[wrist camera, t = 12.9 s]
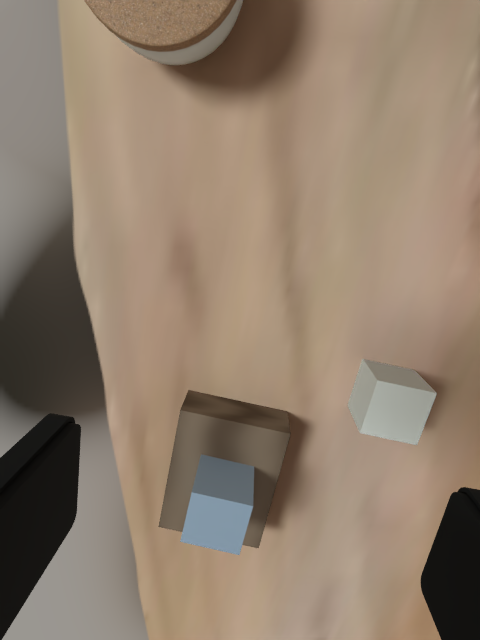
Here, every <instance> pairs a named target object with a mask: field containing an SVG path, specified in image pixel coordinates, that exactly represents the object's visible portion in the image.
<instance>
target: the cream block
mask: <svg viewBox="0 0 480 640" xmlns="http://www.w3.org/2000/svg"><path fill="white" fill-rule="evenodd" d="M436 395H437V393H436V392H435V391H434V390H433V389H432V388H431V386H430V385H429V384H428V383H427V382H426V381H425V380H424V379H423V378H422V377H421V376H420V375H419V374H418V373H417V372H416V371H415V370H413V369H408V368H404V367H399V366H394V365H390V364H385V363H381V362H376V361H371V360H367V359H362V362H361V365H360V368H359V371H358V374H357V377H356V380H355V384H354V387H353V390H352V393H351V396H350V399H349V402H348V408H349V410H350V412H351V414H352V416H353V419H354V421H355V423H356V425H357V428H358V430H359V432H360V433H362V434H367V435H372V436H376V437H381V438H385V439H390V440H395V441H399V442H404V443H409V444H413V445H417V444H418V441H419V439H420V436H421V434H422V431H423V428H424V426H425V423H426V421H427V418H428V415H429V413H430V410H431V408H432V405H433V403H434V400H435V397H436Z"/></svg>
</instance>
